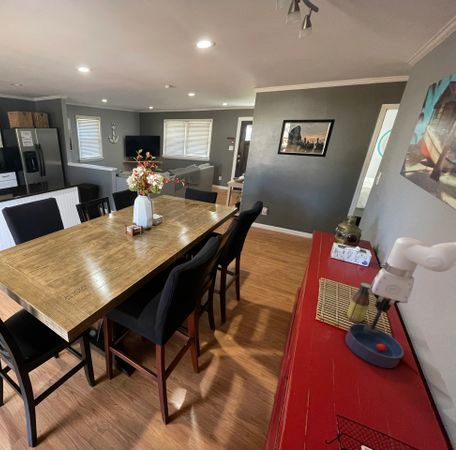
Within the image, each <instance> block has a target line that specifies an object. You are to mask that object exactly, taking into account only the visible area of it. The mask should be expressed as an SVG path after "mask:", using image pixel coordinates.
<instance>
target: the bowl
mask: <svg viewBox="0 0 456 450" xmlns="http://www.w3.org/2000/svg"><path fill="white" fill-rule="evenodd" d="M365 325H366V324H364V323H353V324H352V325H350V326H349V328H348V329H347V332H346V334H345V337H344V340H345V343H346V345H347V347H348V348H349V349H350V350H351V351H352V352H353V353H354V354H355V355H356V356H357V357H359V358H361V359H362V360H364V361H365V362H368V363H370V364H372V365H374V366H377V367H380V368H385V369H386V368H387V369H392V368H396V367H397V366H398V365H399V363H401V360H402V358H403V356H404V355H405V352H404V351H405V350H404V348H403V347H402V345H401V344H400V343H399V342H398V341H397V340H396V339H395V338H394V337H392V336H391V335H390V334H388V333H387V332H385V331H384V330H381V329H379V334H378V336H371V335H369V334H367V333H366V332H365V331H364V327H365ZM377 344H383V345H385V346H386V351H384V352H382V351H379V350H378V349H377V347H376V346H377Z"/></svg>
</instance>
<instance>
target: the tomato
mask: <svg viewBox="0 0 456 450" xmlns="http://www.w3.org/2000/svg"><path fill="white" fill-rule="evenodd" d="M376 347H377V349H378V350H379V351H382V352H384V351H386V346H385V345H383V344H377V346H376Z"/></svg>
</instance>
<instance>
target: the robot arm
mask: <svg viewBox="0 0 456 450" xmlns="http://www.w3.org/2000/svg"><path fill="white" fill-rule="evenodd" d="M418 266H420V267H421V268H424V269H425V270H429V271H431V272H437V273H441V272H447V271H449V270H451V269H452V268H453V267H454V266H456V241H453V242H441V243H436V244H434V245H432V246H426V244H425V243H424V242H423V241H421V240H419V239H416V238H413V237H407V236H405V237H404V236H402V237H399V238H397V239H396V240H395V242H394V244H393V246H392V248H391V251H390V254H389V256H388V258H387V261H385V262H384V263H383V262H381V263H379V267H381V268H380V270H379V272H378V273H377V274H376V276H375V277H374V279H373V280H372V283H371V287H370V288H369V289H368V293H369V295H372V296H373V297H375V299H376V301H375V304H374V307H375V309H376V311H377V312H378V311H380V309H381V307H382V305H383V302H382V301H383V299H384V298H386V299H387V302H386V304H385V306H384V309H383V311H382V313H384V314H386V313H387V312H388V311H390V309H391V306H394V305H395V304H399V303H400V304H407V303H408V302H409V298H410V296H411V294H412V291H413V287H414V283H415V277H414V276H413V275H414V274H415V270H416V269H417V267H418Z"/></svg>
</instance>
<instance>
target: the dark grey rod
mask: <svg viewBox="0 0 456 450" xmlns="http://www.w3.org/2000/svg"><path fill="white" fill-rule="evenodd" d="M387 300H388V298H386V297H383V301H382V302H383V305H382V307H381V309H380V311H377V312H376V314H375V316H374V319H373V320H372V323H371V324H368V323H367V324H365V327H364V331H365V332H366V333H367V334H369V335H371V336H378V334H379V330H380V328H378V327H376V326H377V324H378V322H379V320H380V317H381V316H382V313H383V309H384V306H385V304H386V302H387Z"/></svg>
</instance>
